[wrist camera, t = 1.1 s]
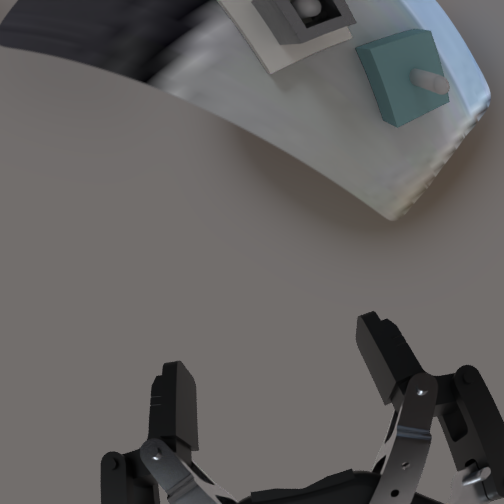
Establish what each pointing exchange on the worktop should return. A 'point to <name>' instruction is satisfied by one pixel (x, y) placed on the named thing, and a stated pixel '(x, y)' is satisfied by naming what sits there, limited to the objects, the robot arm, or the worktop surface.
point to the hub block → (405, 75)
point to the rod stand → (263, 40)
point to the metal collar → (291, 26)
